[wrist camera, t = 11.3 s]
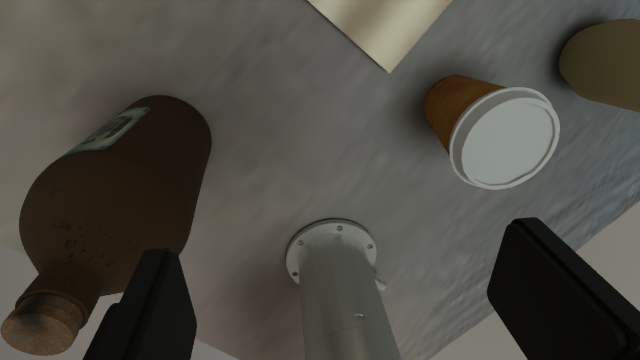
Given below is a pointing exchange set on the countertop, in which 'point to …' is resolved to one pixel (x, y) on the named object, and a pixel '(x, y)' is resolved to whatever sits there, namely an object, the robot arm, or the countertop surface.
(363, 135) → the countertop surface
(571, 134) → the countertop surface
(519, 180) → the disposable coffee cup
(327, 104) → the countertop surface
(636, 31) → the squeeze bottle
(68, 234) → the olive oil
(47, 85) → the countertop surface
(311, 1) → the lever board
